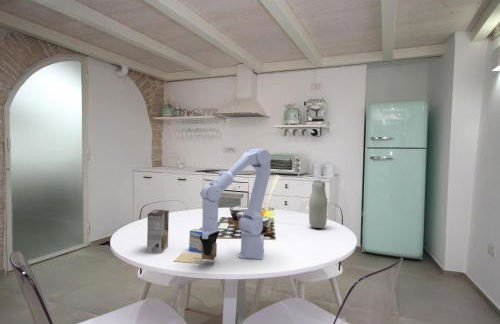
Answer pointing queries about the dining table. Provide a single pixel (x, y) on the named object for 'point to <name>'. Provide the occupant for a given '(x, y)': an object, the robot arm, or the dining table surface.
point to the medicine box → (195, 240)
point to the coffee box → (157, 231)
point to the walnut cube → (213, 253)
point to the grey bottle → (318, 205)
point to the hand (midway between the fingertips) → (209, 252)
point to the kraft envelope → (189, 258)
